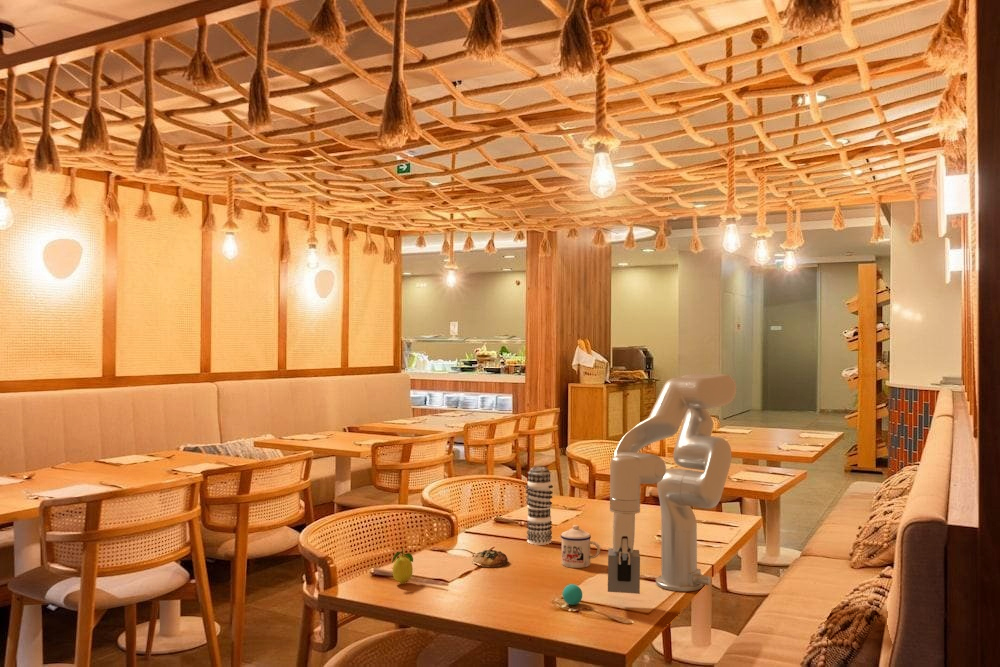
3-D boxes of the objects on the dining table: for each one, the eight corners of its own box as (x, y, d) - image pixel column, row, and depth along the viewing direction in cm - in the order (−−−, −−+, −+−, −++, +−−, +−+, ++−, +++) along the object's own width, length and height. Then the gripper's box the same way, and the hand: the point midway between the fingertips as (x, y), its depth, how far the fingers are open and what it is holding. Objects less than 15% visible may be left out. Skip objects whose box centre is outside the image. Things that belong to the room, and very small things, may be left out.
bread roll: (514, 561, 230) (513, 545, 229) (496, 575, 220) (494, 558, 220) (484, 557, 235) (482, 542, 235) (465, 571, 226) (463, 555, 226)
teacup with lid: (556, 566, 224) (556, 527, 224) (566, 559, 232) (566, 521, 232) (595, 571, 219) (595, 531, 219) (603, 563, 227) (603, 524, 228)
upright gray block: (638, 585, 190) (638, 550, 190) (639, 593, 182) (640, 557, 183) (608, 583, 191) (608, 548, 192) (607, 591, 184) (608, 555, 184)
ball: (586, 604, 190) (586, 584, 190) (575, 609, 186) (575, 588, 186) (569, 600, 193) (569, 580, 193) (558, 605, 189) (558, 585, 189)
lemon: (391, 588, 203) (391, 551, 203) (388, 582, 208) (389, 545, 209) (416, 586, 204) (416, 549, 205) (412, 580, 210) (412, 544, 210)
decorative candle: (540, 537, 260) (539, 465, 261) (558, 542, 253) (558, 468, 254) (520, 541, 254) (520, 467, 255) (538, 546, 247) (538, 470, 248)
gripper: (609, 499, 197) (609, 566, 196) (609, 510, 180) (608, 585, 179) (638, 500, 196) (638, 568, 195) (641, 512, 179) (640, 587, 178)
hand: (623, 576), depth 187 cm, fingers closed on upright gray block, 7 cm apart
